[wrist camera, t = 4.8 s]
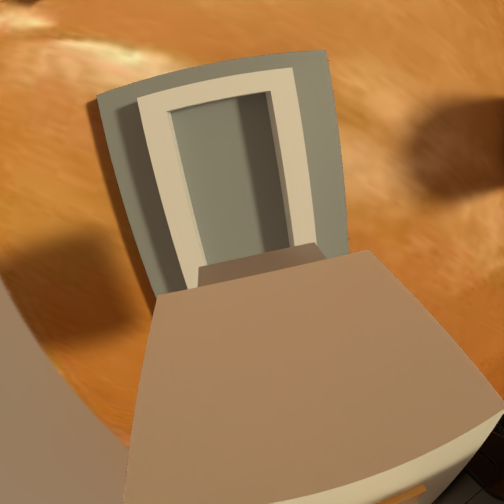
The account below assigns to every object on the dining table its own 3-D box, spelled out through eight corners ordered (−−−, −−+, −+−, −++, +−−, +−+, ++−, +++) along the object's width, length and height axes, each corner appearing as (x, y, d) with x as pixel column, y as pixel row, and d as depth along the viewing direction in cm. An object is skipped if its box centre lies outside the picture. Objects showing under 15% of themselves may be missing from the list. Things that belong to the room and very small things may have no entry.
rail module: (338, 220, 9) (512, 413, 3) (341, 394, 13) (400, 537, 6) (167, 257, 9) (121, 521, 2) (228, 421, 12) (248, 575, 6)
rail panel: (319, 52, 15) (336, 45, 12) (344, 339, 23) (356, 361, 21) (102, 95, 14) (86, 94, 12) (192, 373, 23) (192, 398, 21)
